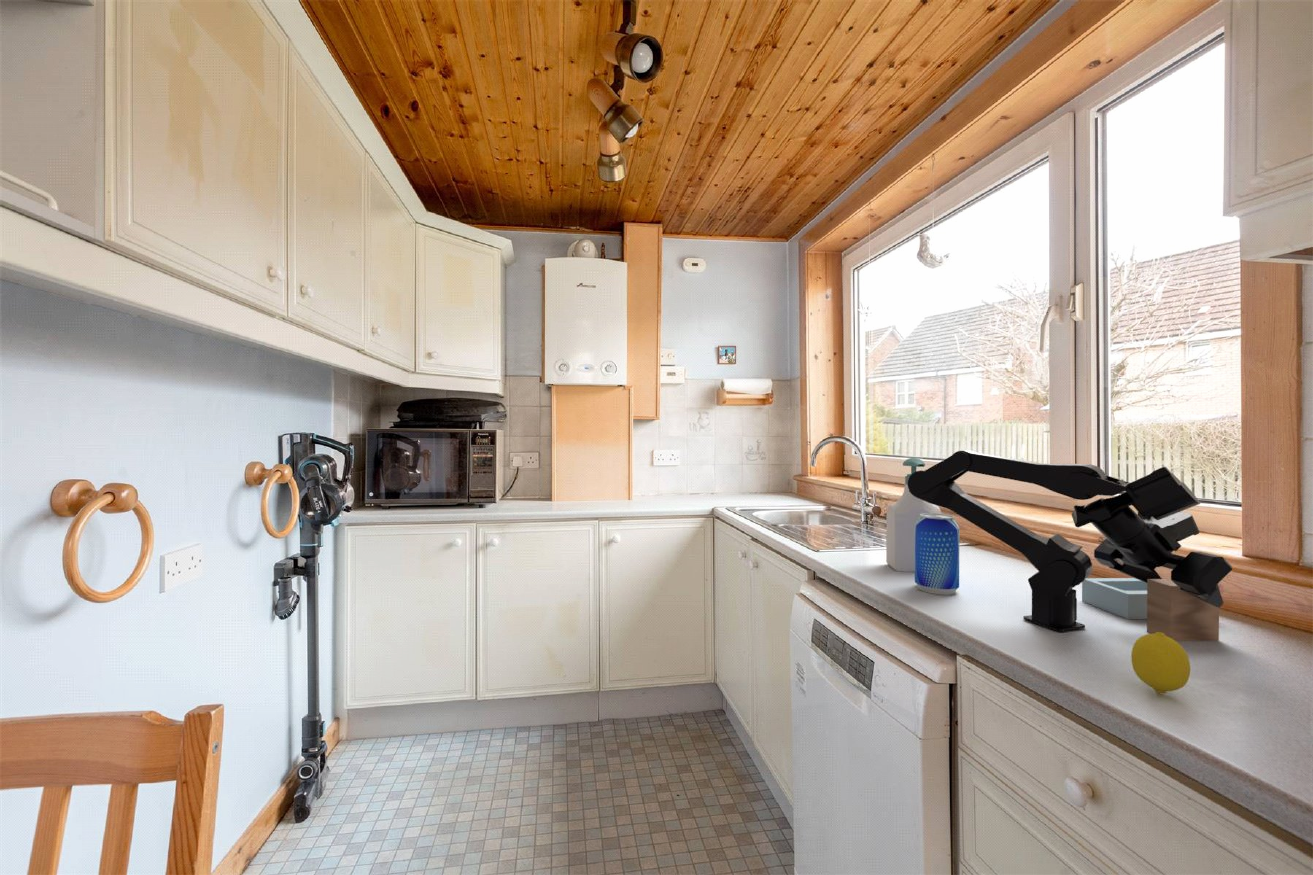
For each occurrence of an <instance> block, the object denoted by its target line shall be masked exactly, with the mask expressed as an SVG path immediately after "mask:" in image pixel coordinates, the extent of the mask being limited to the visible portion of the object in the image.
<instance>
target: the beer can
mask: <svg viewBox="0 0 1313 875" xmlns="http://www.w3.org/2000/svg"><path fill="white" fill-rule="evenodd" d="M914 583H915V584H916V585H917V587H918V589H919V590H921V591H923V592H924V593H928V594H933V595H941V596H942V595H943V596H945V595H946V596H948V595H950V596H951V595H953V594H955V593H956V591H957V590H958V589H959V588H960V526H959V525H958V523H957V521H956V520H955V516H954V515H951V514H947V513H941V514H938V513H923V514H920V518H919V519H918V521H917V522H916V524H915V572H914Z"/></svg>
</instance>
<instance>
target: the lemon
mask: <svg viewBox="0 0 1313 875" xmlns="http://www.w3.org/2000/svg"><path fill="white" fill-rule="evenodd" d="M1130 657H1131V658H1130V659H1131V666H1132V669H1133V672H1134V673H1135V675H1136V676H1137V677H1138V678H1139V680H1140V681H1141V682H1143V683H1144V684H1145V685H1147V686H1148V687H1150V688H1152V689H1153V691H1155V693H1157V692H1158V693H1157V694H1160V693H1163V694H1166V693H1167V692H1174V691H1178V690H1180V689H1182V688H1183V687H1185V686H1186V684H1187V683H1188V682H1189V678H1190V675H1191V665H1190V664H1191V663H1190V660H1189V656H1188V654H1187V652H1186V650H1185V649H1184V647H1183V646H1182V645H1181V644H1180V643H1179V642H1178V641H1175V640H1173V639H1172V638H1170V637H1168V636H1166V635H1165V634H1164V633H1162V632H1156V633H1155V634H1151V633H1147V634H1145V635H1142V636H1140V637H1139V638H1138V639H1136V640H1135V642H1134V643H1133V646H1132V649H1131V656H1130Z"/></svg>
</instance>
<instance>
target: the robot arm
mask: <svg viewBox="0 0 1313 875" xmlns="http://www.w3.org/2000/svg"><path fill="white" fill-rule="evenodd" d="M969 472H970V473H975V474H980V475H984V476H985V475H986V476H991V477H994V478H995V477H996V478H1002V479H1006V480H1012V481H1017V482H1023V483H1026V484H1027V483H1028V484H1033V485H1037V486H1039V487H1043V488H1044V489H1047V490H1049V491H1052V492H1054V493H1057V494H1058V495H1062V496H1065V497H1067V498H1071V499H1074V500H1079V501H1084V500H1085V501H1086V500H1090V499H1093V498H1095V497H1097V496H1105V497H1107V496H1108V497H1107V498H1104V497H1101V498H1099V499H1096V500H1094V501H1092V502H1090V503H1087V504H1085V505H1076V504H1075V505H1073V511H1072V513H1071V518H1072V521H1073V523H1074V526H1075V528H1081V527H1083V526H1086V525H1089V524H1092V525H1093V526H1094V527H1095V529H1096V530H1098V532H1099V533H1101V534H1102V536H1104V537H1105V538H1104V539H1103V541H1102V542H1101V543H1099V544H1098V546H1096V548H1094V550H1093V552H1094V553H1093V557H1094V559H1096V561H1097V562H1098V563H1099V564H1100V565H1102V566H1107V567H1108V568H1109V569H1111V570H1114V571H1116V572H1119V573H1121V574H1124V575H1127V576H1128V577H1130V578H1135V579H1138V580H1140V581H1143V582H1145V583H1147V579H1163V578H1162V577H1161V576H1160V574H1159V573H1158V572H1157V571H1156V569H1157V568H1161V567H1163V568H1166V569H1170V570H1171V571H1170V579H1171V580H1172V581H1173V582H1174V583H1175V584H1176V585H1177V586H1179V587H1181V588H1180V590H1182V591H1184V592H1186V593H1188V594H1190V595H1193V596H1195V597H1197V598H1199V599H1201V600H1203V601H1205V602H1207V603H1209V604H1211V605H1213V606H1215V607H1218V608H1219V609H1220V608H1221V607H1222V606H1223V605H1224V599H1223V596H1222V593H1221V591H1220V586H1219V587H1218V584H1219V583H1220V582H1221V581H1222V580H1223V579H1224V578H1225V577H1227V575H1228V574H1229V573H1230V572H1232V570H1233V566H1232V565H1231V564H1230V562H1229V561H1227V559H1226V558H1224V557H1223V556H1221V555H1215V554H1213V553H1207V552H1203V551H1190V552H1189V553H1188V554H1187V555H1186V556H1182V555H1180V554H1179V555H1178V554H1175V553H1173V552H1177V551H1179V549H1180V548H1181V547H1182V545H1181V544H1180V543H1179V542H1181V541H1184V540H1185V539H1188V538H1189V537H1192V536H1196V535H1199V534H1200V533H1201V532H1200V529H1199V527H1198V525H1197V522H1196V520H1195V518H1194V516H1193V514H1192V513H1189V512H1183V511H1185V510H1186V511H1187V510H1188V509H1191V508H1193V507H1196V506H1198V505H1200V504H1201V502H1200V501H1199V500H1200V499H1198V498H1197V497H1196V495H1195V494H1194V492H1193V491H1192V490H1191V489H1190V488H1189V487H1188V485H1187V484H1186V483H1185V482H1184V481H1181V480H1180V479H1179V478H1178V477H1177V476H1176V475H1175V474H1174V473H1172V472H1171V471H1170V470H1169V468H1168V467H1167V466H1162V467H1159V468H1156V469H1155V470H1153V471H1152V472H1150V473H1149V474H1146V475H1145V476H1142V477H1140V478H1137V479H1135V480H1133V481H1131V482H1129V481H1125V480H1124V479H1123V478H1122V479H1120V478H1117V477H1112V476H1110V475H1108V474H1106V473H1105V472H1104V470H1103V469H1102V468H1101V467H1099V466H1097V465H1094V464H1090V463H1044V462H1043V463H1042V462H1035V461H1030V460H1024V459H1018V458H1011V457H1005V456H998V455H993V454H988V453H987V454H985V453H981V452H976V451H973V450H970V449H968V450H967V449H966V450H958V451H955V452H954V453H953V454H952V455H950V456H948V457H947V458H945V459H943V460H942V461H939V462H938V463H936V464H934V465H932V466H930V467H928V468H927V469H923V470H916V472H914V473H913V474H911V473H910V474H911V476H910V477H909V479H908V488H909V492H910V493H911V494H912V495H913V496H914V497H916V498H919V499H921V500H923V501H926V502H928V503H931V504H934V505H936V506H938V507H941V508H944V509H947V510H950V511H951V512H954V514H957V516H960V517H962V518H963V519H964V520H966V521H968V522H970V523H971V524H973V525H974V526H976V527H977V528H980V529H981V530H982V531H985V532H986V533H987V534H989V535H991V536H992V537H994V538H995V539H997V540H1000V541H1001V542H1003V543H1004V544H1006V545H1007V546H1009V547H1011V548H1012V549H1014V550H1016V551H1018V552H1019V553H1020V554H1022V556H1024V557H1025V558H1026V559H1027V561H1028V562H1029V563H1030V564H1031V565H1032V566H1033V567H1034V569H1035V570H1037V572H1035V573H1034V574H1033V575H1032V576H1030V577H1029V578H1028V579H1027V582H1028V584H1029V586H1030V589H1031V614H1029V615H1024V616H1023V618H1022V619H1023V620H1025V621H1027V622H1030V623H1032V624H1036V625H1037V626H1041V627H1044V628H1046V629H1049V630H1053V631H1055V632H1067V631H1073V630H1074V631H1075V630H1080V629H1086V624H1084V623H1080V622H1079V621H1077V620H1078V614H1077V613H1078V606H1077V605H1078V602H1077V601H1078V600H1077V589H1073V588H1075V587H1076V586H1079V585H1080V584H1082V582H1083V581H1084V580H1085V579H1086V578H1088V577H1089V576H1090V575H1091V573H1092V571H1093V562H1092V560H1091V558H1090V556H1089V555H1088V554H1087V553H1086V552H1085V551H1083V550H1082V549H1083V546H1082V545H1079V544H1075V543H1072V542H1070V541H1069V540H1068V539H1067V538H1066V537H1064V536H1063V535H1061V534H1060V533H1056V534H1053V535H1052V536H1051V537H1045V536H1042V535H1040V534H1037V533H1035V532H1034V531H1032V530H1031V529H1028V528H1027V527H1026V526H1023V525H1022V524H1019V523H1018V522H1016V521H1015V520H1013V519H1011V518H1009V517H1008V516H1005V515H1004V514H1002V513H1001V512H999V511H997V510H996V509H994V508H993V507H991V506H988V505H987V504H985V503H983V502H981V501H980V500H978V499H977V498H975V497H973V496H971V495H969V494H968V493H966V492H965V491H964V490H963V489H962V488H961V487H960V486H959V485H958V484H957V482H955V481H957V480H958V479H960V478H961V477H963V476H964V475H965V474H966V473H969ZM1131 506H1132V507H1133V508H1134V509H1135V510H1136V511H1137V512H1135V510H1134V509H1133V508H1131Z"/></svg>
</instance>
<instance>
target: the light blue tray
mask: <svg viewBox="0 0 1313 875" xmlns="http://www.w3.org/2000/svg"><path fill="white" fill-rule="evenodd" d="M1081 602H1084V603H1085V604H1089V605H1091V606H1094V607H1096V608H1100V609H1102V610H1104V611H1106V612H1109V613H1111V614H1113V615H1114V614H1115V615H1116V616H1119V617H1122V618H1124V619H1127V620H1147V583H1145V582H1143V581H1140V580H1138V579H1135V578H1133V577H1118V578H1117V577H1109V578H1108V577H1104V578H1103V577H1100V578H1096V577H1095V578H1094V577H1092V578H1088V577H1087V578H1086V579H1085V580H1084V581H1083V582H1081Z"/></svg>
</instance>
